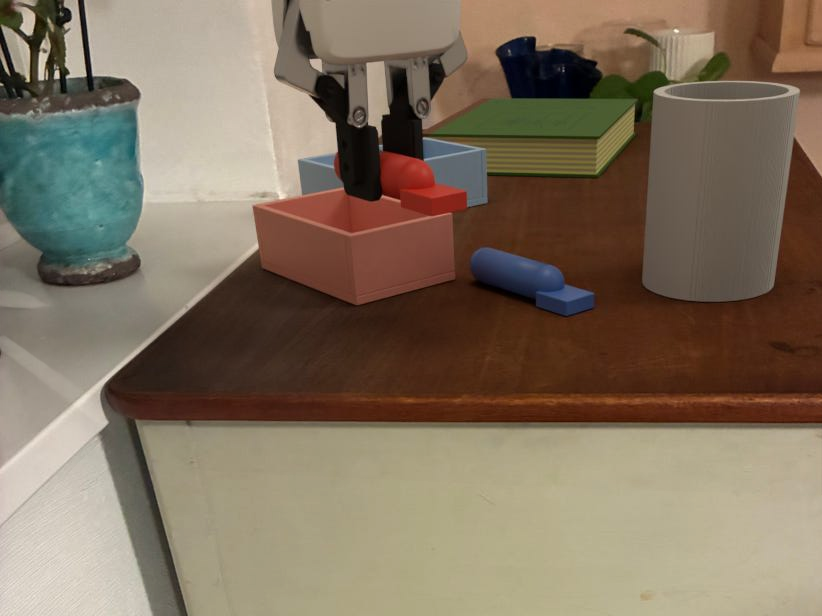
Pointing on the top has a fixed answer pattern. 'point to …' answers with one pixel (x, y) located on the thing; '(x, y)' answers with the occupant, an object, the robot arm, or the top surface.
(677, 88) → the cup
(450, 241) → the red bin
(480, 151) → the blue bin
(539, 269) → the blue capsule with block
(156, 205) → the top surface
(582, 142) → the hardcover book
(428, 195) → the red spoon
